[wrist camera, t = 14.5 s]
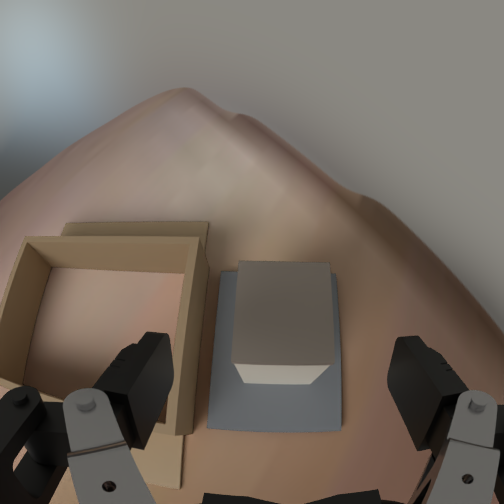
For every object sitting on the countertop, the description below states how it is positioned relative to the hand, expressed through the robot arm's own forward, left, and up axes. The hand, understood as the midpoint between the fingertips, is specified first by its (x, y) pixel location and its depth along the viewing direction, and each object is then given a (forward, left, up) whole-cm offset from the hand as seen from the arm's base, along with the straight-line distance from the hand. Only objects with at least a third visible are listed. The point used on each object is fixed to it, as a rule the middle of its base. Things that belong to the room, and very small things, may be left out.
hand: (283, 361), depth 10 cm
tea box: (0, +3, -11) cm, 12 cm away
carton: (-14, +3, -12) cm, 18 cm away
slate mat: (0, +3, -12) cm, 12 cm away
